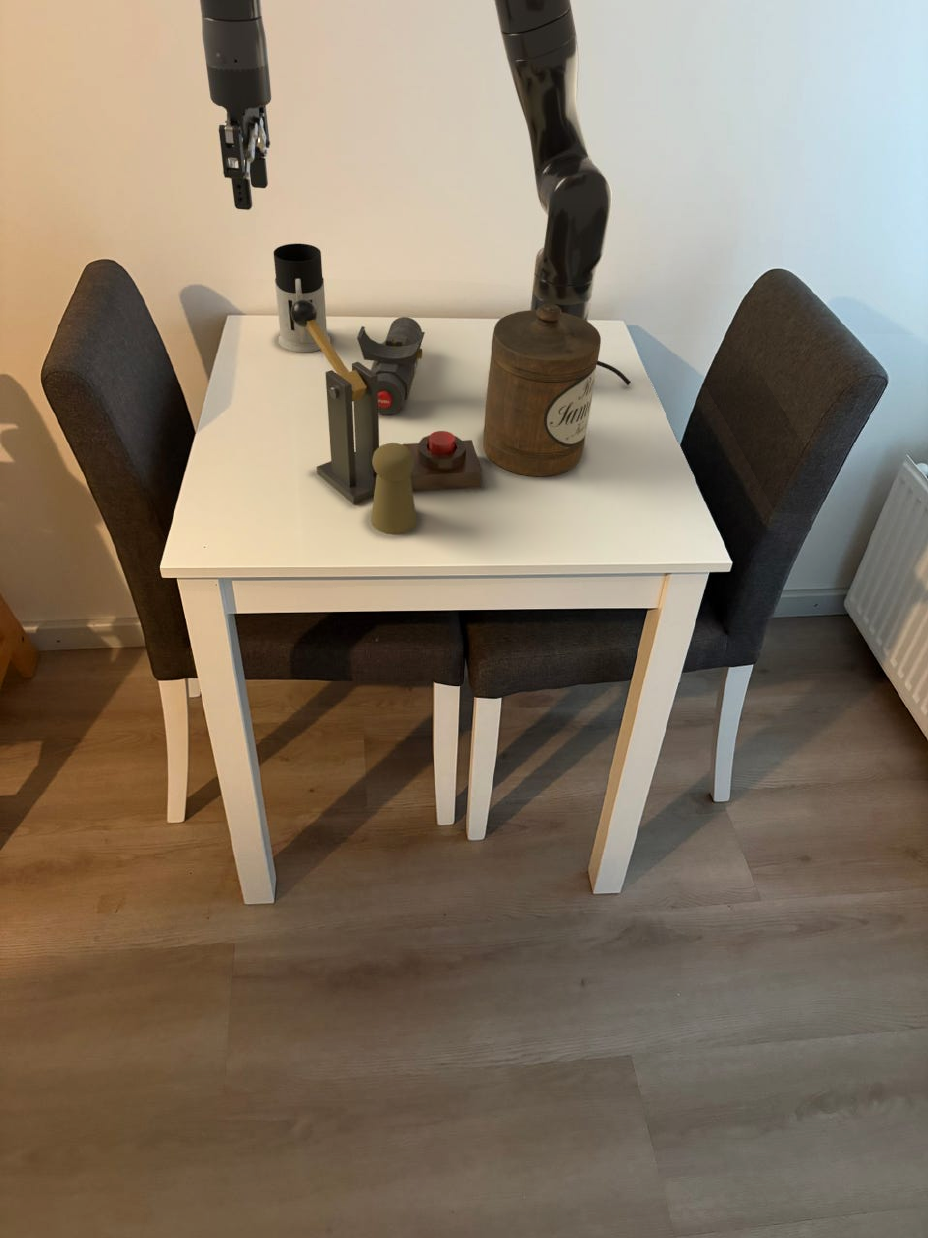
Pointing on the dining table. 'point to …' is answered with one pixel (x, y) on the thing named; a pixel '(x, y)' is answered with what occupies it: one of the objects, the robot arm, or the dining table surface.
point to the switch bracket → (352, 436)
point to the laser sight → (394, 361)
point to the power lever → (326, 345)
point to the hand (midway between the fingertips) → (252, 197)
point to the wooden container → (540, 390)
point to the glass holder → (299, 293)
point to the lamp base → (444, 467)
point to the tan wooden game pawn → (393, 489)
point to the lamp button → (442, 443)
